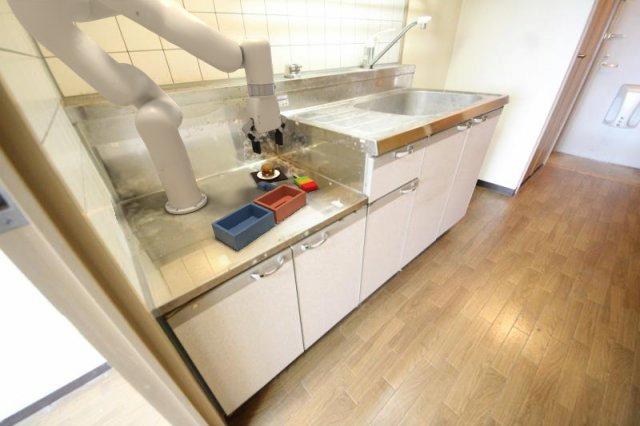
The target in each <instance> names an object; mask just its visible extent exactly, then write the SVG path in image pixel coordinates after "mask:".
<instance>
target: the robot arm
mask: <svg viewBox="0 0 640 426" xmlns="http://www.w3.org/2000/svg"><path fill="white" fill-rule="evenodd" d="M6 2H7V4H8V6H9V9H10V10H11V12H12V14H13V15H14V17H15V19H16V20H17V21H18V23H19V24H20V25H21V26H22V27H23V29H24V30H25V31H26V32H27V33H28V34H29V35H30V36H31V37H32V38H33V39H34V40H35V41H36V42H37V43H39V45H41V46H42V47H44V48H45V49H46V50H47V51H48V52H49V53H51V54H52V55H53V56H55V57H56V58H57V59H58V60H59V61H60V62H62V63H63V64H64V65H66V66H67V68H69V70H71V71H72V72H73V73H75V74H76V75H77V76H78V77H79V78H81V79H82V80H83V81H84V82H85V83H86V84H88V85H89V86H90V87H91V88H92V89H94V90H95V91H96V93H98V94H99V95H100V96H102V97H103V98H104V99H105V100H106V101H108V102H109V103H111V104H113V105H115V106H118V107H129V106H133V107H134V108H136V109H137V110H136V112H135V115H134V125H135V129H136V131H137V133H138V135H139V136H140V138H141V140H142V142H143V143H144V145H145V147H146V149H147V152H148V154H149V156H150V158H151V161H152V164H153V165H154V168H155V171H156V173H157V175H158V177H159V180H160V182H161V185H162V187H163V190H164V193H165V195H166V197H167V200H168V201H166V203H165V207H164V208H165V210H166V211H167V212H168V213H170V214H173V215H184V214H185V215H186V214H190V213H192V212H196V211H197V210H199V209H201V208H202V207H204V206H205V205H206V204H207V203H208V197H207V195H206V194H205V193H202V192H201V191H200V188H199V185H198V182H197V179H196V176H195V173H194V170H193V166H192V163H191V160H190V157H189V154H188V151H187V148H186V145H185V143H184V140H183V138H182V136H181V134H180V130H179V128H180V127H181V125H182V123H183V118H184V117H183V112H182V110H181V108H180V106H179V105H178V103H177V102H176V101H175V100H174V99H173V98H172V97H171V96H169V94H168V93H166V92H165V91H164V89H162V88H161V87H160V86H159V84H157V83H156V82H155V80H153V79H152V78H151V77H150V76H149V75H148V74H147V73H146V72H145V71H143V70H142V69H140V68H139V67H137V66H135V65H133V64H131V63H127V62H126V63H125V62H119V61H117V60H116V59H115V58H113V57H112V56H111V55H110V54H109V53H108V52H106V50H104V49H103V48H102V46H100V45H99V44H98V42H97V41H95V40H94V39H93V38H92V37H90V36H89V35H88V34H87V33H86V32H84V31H83V30H81V29H80V28H79V27H78V26H76V24H75V23H79V24H81V23H82V24H83V23H90V22H94V21H99V20H103V19H108V18H112V17H118V16H123V17H125V18H127V19H129V20H130V21H132V22H134V23H136V24H138V25H139V26H141V27H143V28H145V29H146V30H148V31H150V32H151V33H152V34H155V35H157V36H159V37H160V38H162V39H164V40H165V41H167V42H168V43H170V44H172V45H174V46H176V47H178V48H179V49H181V50H183V51H185V52H186V53H187V54H190V55H191V56H193V57H195V58H197V59H199V60H200V61H202V62H203V63H205V64H208V65H209V66H211V67H213V68H214V69H216V70H218V71H220V72H223V73H226V74H232V73H235V72H237V71H238V70H242V69H244V73H245V80H246V86H247V93H248V94H247V95H248V96H247V97H246V102H245V103H246V104H245V109H246V110H245V111H246V112H245V113H246V123H244V125H243V126H242V127H241V131H242V133H243V134H244V136H245V138H247V139H248V140H249V141H250V142H251V148H252V152H253V153H254V154H257V155H261V154H262V146H261V140H260V139H259V138H260V137H261V134H266V133H269V132H272V131H274V132H273V135H274V144H275V145H277V146H284V135H283V133H284V132H285V131H284V130H285V127H286V122H287V116H285V115H283V114H281V109H280V105H279V100H278V97H277V94H276V91H275V90H276V88H277V86H276V84H275V81H274V70H273V59H272V50H271V49H272V48H271V44H270V41H269V40H268V39H266V38H262V37H259V38H256V37H255V38H254V37H253V38H252V37H250V38H244V39H234V38H231V37H229V36H227V35H226V34H224V33H222V32H220V31H219V30H218V29H216V28H214V27H212V25H210V24H208V23H207V22H205V21H203V20H202V19H200V18H199V17H197V16H196V15H194V14H192V13H191V12H189V10H187V9H186V8H184V7H183V6H182V5H181V4H180V3H179V2H177V1H176V0H6Z"/></svg>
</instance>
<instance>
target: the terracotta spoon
mask: <svg viewBox="0 0 640 426" xmlns="http://www.w3.org/2000/svg"><path fill="white" fill-rule="evenodd" d="M292 198H293V197H291V196H287V197H285V198H283V199H281V200H280V201H278V202H276V203H275V204H273V205H271V207H273V208H277V207H279V206H280V205H282V204H284V203H285V202H287V201H288V200H290V199H292Z"/></svg>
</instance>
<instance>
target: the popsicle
mask: <svg viewBox="0 0 640 426" xmlns="http://www.w3.org/2000/svg"><path fill="white" fill-rule="evenodd" d="M292 176H294V177H295V178H294V179H293V183H294V184H296V186H297V187H299V189H300V190H303V191H306V193H308V192H312V191H315V190H317V189H319V188H318V187H319V186H318V183H317V182H315V181H314V180H313V179H312V178H310V177H309V176H307V175H304V176H299V175H298V174H296V173H292Z"/></svg>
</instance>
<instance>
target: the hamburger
mask: <svg viewBox="0 0 640 426" xmlns="http://www.w3.org/2000/svg"><path fill="white" fill-rule="evenodd" d="M250 175H251V177H252V179H253V181H254V182H255V184H256V185H257V184H258V183H260V182H262V181H264V182H267V183H270V184H273V183H276V182H281V181H285V180H286V181H287V180H289V177H288V176H287V175H286V174H285V173H284V172H283V171H282V169H281V168H280V167H275V166H274V164H273V163H271V162H270V163H269V162H265V163H263V164H261V166H260V170H257V171H253V172H252V171H251V172H250Z"/></svg>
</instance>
